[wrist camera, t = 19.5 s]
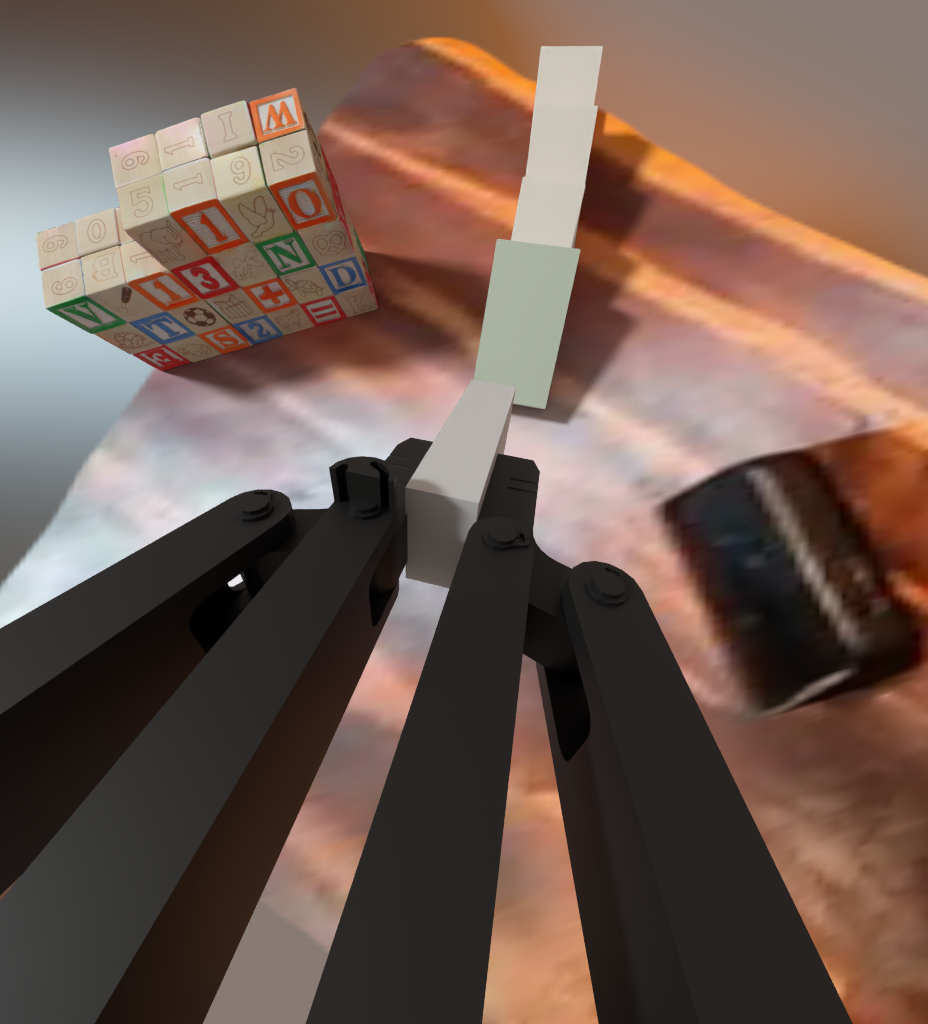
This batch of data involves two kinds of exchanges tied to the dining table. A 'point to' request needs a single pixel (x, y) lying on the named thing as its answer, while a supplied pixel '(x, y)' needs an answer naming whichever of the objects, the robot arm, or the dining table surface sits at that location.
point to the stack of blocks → (212, 240)
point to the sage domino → (525, 318)
